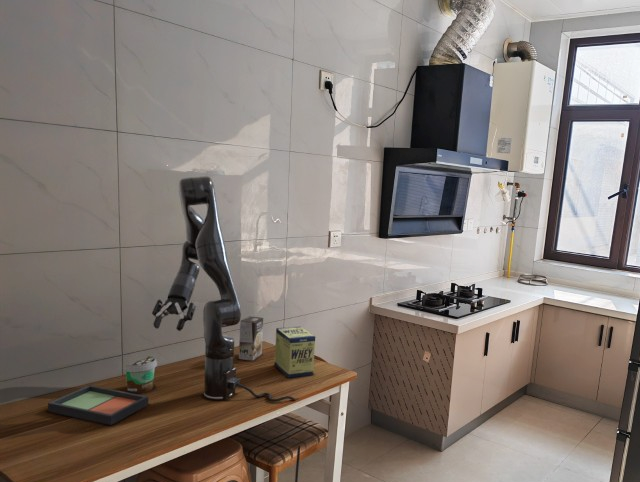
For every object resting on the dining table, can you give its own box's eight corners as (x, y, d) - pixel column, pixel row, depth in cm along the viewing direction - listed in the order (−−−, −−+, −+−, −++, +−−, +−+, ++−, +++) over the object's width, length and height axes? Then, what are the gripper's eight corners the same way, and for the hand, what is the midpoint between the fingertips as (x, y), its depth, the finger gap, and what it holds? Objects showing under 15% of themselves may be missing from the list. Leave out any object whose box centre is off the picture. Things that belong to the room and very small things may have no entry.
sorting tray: (148, 404, 174) (148, 396, 174) (111, 425, 159) (110, 416, 158) (89, 392, 179) (89, 384, 178) (48, 411, 164) (47, 402, 163)
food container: (141, 397, 179) (141, 368, 177) (124, 394, 180) (124, 365, 178) (164, 384, 191) (164, 357, 189) (148, 381, 192) (148, 354, 190)
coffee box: (253, 361, 222) (254, 322, 219) (238, 359, 223) (239, 320, 220) (261, 354, 231) (263, 317, 228) (247, 352, 232) (249, 315, 229)
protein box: (288, 378, 207) (290, 338, 204) (273, 364, 220) (275, 327, 217) (313, 375, 213) (316, 336, 210) (298, 362, 225) (300, 325, 222)
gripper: (159, 281, 198) (143, 322, 190) (196, 285, 196) (181, 326, 188) (169, 291, 204) (153, 331, 196) (204, 295, 202) (190, 335, 194)
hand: (167, 328), depth 192 cm, fingers open, 8 cm apart
